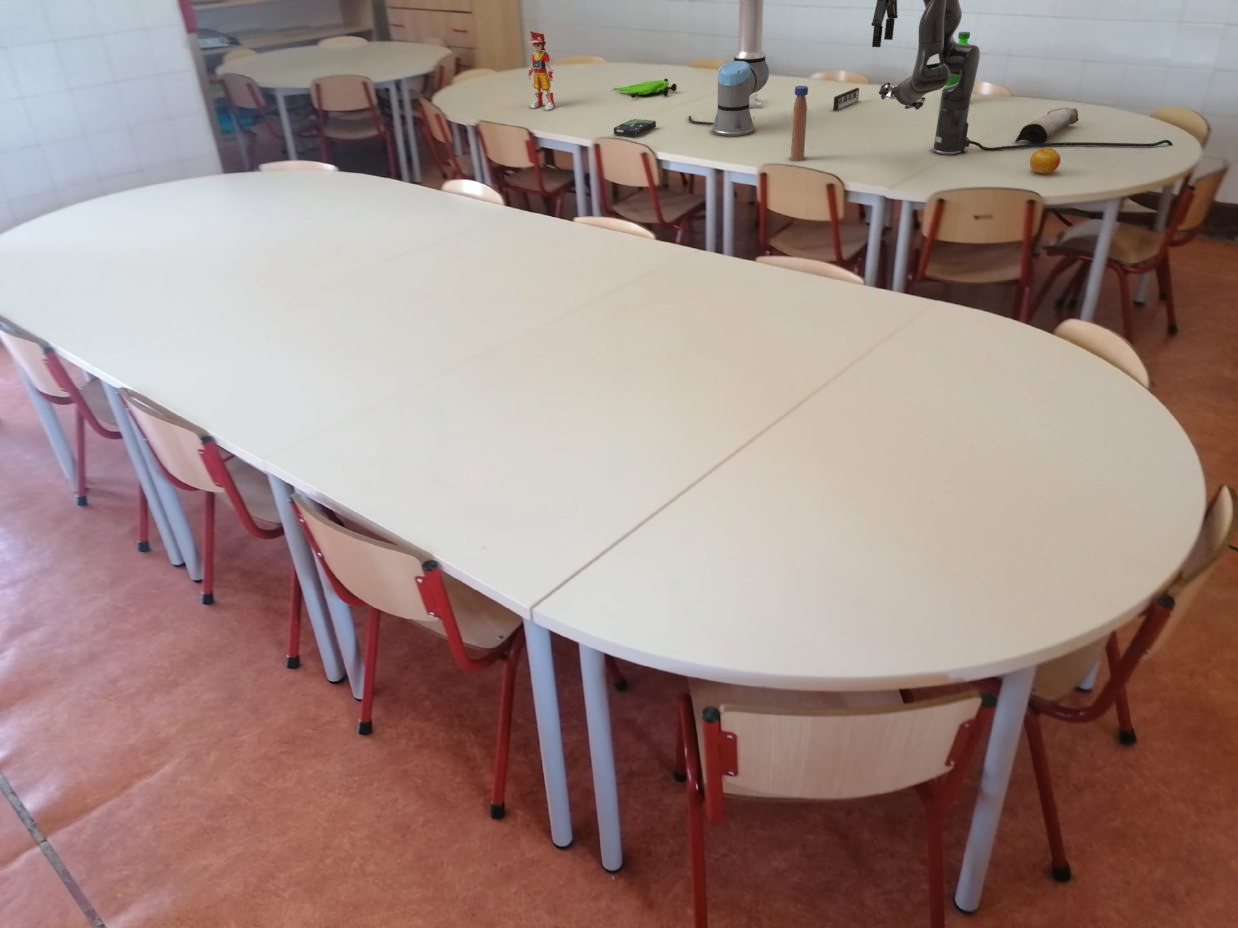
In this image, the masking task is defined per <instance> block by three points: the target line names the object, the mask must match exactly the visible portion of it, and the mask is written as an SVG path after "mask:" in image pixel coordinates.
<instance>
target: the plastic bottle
mask: <svg viewBox="0 0 1238 928" xmlns="http://www.w3.org/2000/svg"><path fill="white" fill-rule="evenodd" d="M970 36H971V32H970V31H959V32H958V36H957V39H958V43H959V44H969V45H971V44H970V43H969V42H968V41H969V39H970V38H971V37H970ZM959 79H960V76H958V75H950V77H949V80H948V82H947V84H946V85H945V86H944V87H943V88H945V87H947V86H950V85H954V84H957V83H958V82H959Z"/></svg>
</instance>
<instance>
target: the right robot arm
mask: <svg viewBox="0 0 1238 928" xmlns="http://www.w3.org/2000/svg"><path fill="white" fill-rule="evenodd" d="M922 1H923V4H924V7H925V9H924V11H923V13H922V15H921V17H920V20H919V24H918V47H917V54H916V59H915V64H914V67H913V71H912V74H911V75H910V76H908V77H907V78H905V79H904V80H902V81H901V82H899V83H898V85H897V86H891V83H890V82H885V83H883V84H882V85H881V86H880V89H879V91H878V95H880V99H881V100H885V99H886V98H888V99H890V100H896V101H897V102H898V103H899V104H901V105H903V106H904V109H905V110H908V109H913V108H914V109H915V110H917V111H918V110H919V109H921V108H922V107H923V106H924V103H925V101H926V97H924V96H925V95H927V94H929V93H931V92H935V91H938V90H941V89H942V90H941V93H940V95H941V96H940V102H939V110H938V114H937V115H938V116H937V124H936V130H935V136H934V143H933V148H932V151H933V152H934V153H936V154H940V155H945V156H947V155H949V156H950V155H959V154H964V153H965V150H966V149H965V148H969V147H970V145H974V146H977V147H978V148H979V149H981V150H982V151H992V152H993V151H1001V150H1013V149H1022V148H1023V149H1024V148H1035V147H1037V148H1038V147H1054V146H1056V147H1058V146H1092V147H1093V146H1097V147H1099V146H1100V147H1137V148H1139V147H1141V148H1143V147H1145V148H1147V147H1148V148H1149V147H1157V146H1160V145H1163V144H1168V146H1173V145H1174V144H1173V142H1172V141H1170V139H1163V140H1160V141H1156V142H1153V143H1139V142H1138V143H1136V142H1135V143H1134V142H1133V143H1132V142H1094V141H1093V142H1090V141H1089V142H1087V141H1086V142H1084V141H1083V142H1082V141H1081V142H1080V141H1076V142H1074V141H1073V142H1071V141H1069V142H1045V143H1039V144H1030V143H1027V144H1017V145H1016V144H1015V145H1003V146H995V147H994V146H993V147H988V146H984V145H982V144H981V143H979V142H978V141H974V140H971V139H970V138H969V137H968V130H969V122H968V119H969V118H968V116H969V111H970V105H971V98H972V93H973V90H974V87H975V82H976V78H977V73H978V68H979V65H980V64H979V63H980V58H981V50H980V47H979V46H978V45H975V44H970V43H969V44H970V45H969V44H959V42H956V41H955V39H954V34H955V32H956V31H957V29H958V27H959V26H960V24H961V20H962V16H963V15H962V14H963V12H962V8H961V4H960V1H959V0H922ZM936 55H938V60H939V62H936V63H935V62H934V63H929V64H928V62H929V60H930V59H931V58H932V57H933V56H936ZM950 75H958V76H960V79H959V82H958V83H957V84H954V85H950V86H947V87H945V85H946V84H947V82H948V80H949V77H950ZM944 87H945V88H944Z"/></svg>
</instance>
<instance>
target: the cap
mask: <svg viewBox="0 0 1238 928" xmlns="http://www.w3.org/2000/svg"><path fill="white" fill-rule="evenodd" d="M808 94H809V87H808V86H807V85H796V86H795V87H794V95H795V96H796V97H797V96H804V95H806V96H808Z"/></svg>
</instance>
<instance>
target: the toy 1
mask: <svg viewBox="0 0 1238 928" xmlns="http://www.w3.org/2000/svg"><path fill="white" fill-rule="evenodd" d="M529 33H530V35H531V36H528V37H527V38H528V39H529V40H528V41H527V43H529V44H530V43H531V44H532V48H533V50H534V51H533V52H532V55H531V58H530V59H531V63H530V66H528V74H527V75H528V76H527V77H528V79H529V80H531V75H532V74H533V84H532V85H533V86H532V87H533V88H534V89H535V90H536V92H534V95H535V97H536V100H535V101H533V102H531V105H530V108H531V109H535V108H538V107H542V106H544V101H543V100H544V99H543V95H544V92H546V94H545V97H546V99H547V103H546V104H545V106H544V110H546V111H549V110H553V109H554V107H555V106H556V105H555V99H554V92H551V91H550V90H551V86H552V84H551V82H552V81H553V80H554V77H553V73H554V71H555V70H554V69H552V68H551V63H550V61H551V59H550V58H551V57H550V54H549V53H548V52H547V50H546V48H545V46H546V44H547V41H545V35H544V33H543V32H542V33H539V32H535V31H529Z"/></svg>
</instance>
